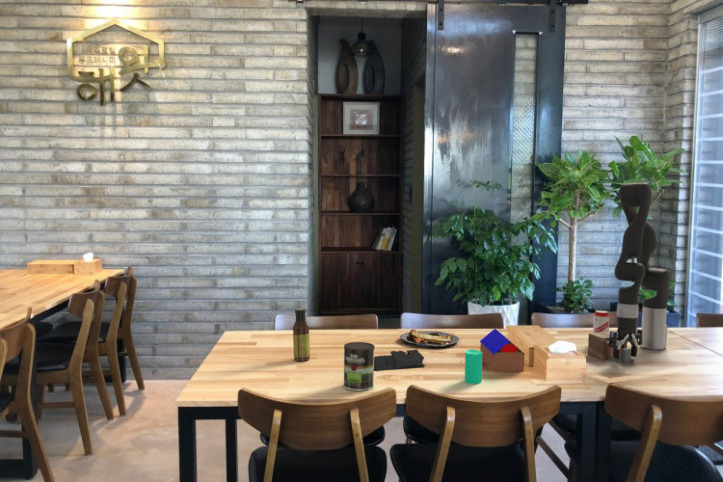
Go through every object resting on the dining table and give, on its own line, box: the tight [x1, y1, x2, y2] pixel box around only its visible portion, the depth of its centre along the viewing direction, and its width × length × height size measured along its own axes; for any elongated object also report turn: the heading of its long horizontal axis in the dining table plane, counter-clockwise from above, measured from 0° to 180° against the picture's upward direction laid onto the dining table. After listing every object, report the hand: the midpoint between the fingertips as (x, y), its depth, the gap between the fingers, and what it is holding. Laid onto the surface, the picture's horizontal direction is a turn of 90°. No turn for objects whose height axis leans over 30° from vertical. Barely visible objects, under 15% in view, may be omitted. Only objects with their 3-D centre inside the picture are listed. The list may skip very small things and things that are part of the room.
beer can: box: [592, 309, 611, 343], centre depth 279 cm, size 6×6×16 cm
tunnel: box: [587, 330, 628, 361], centre depth 264 cm, size 12×8×10 cm, turn 114°
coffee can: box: [343, 341, 376, 392], centre depth 228 cm, size 10×10×14 cm
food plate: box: [399, 329, 461, 348], centre depth 290 cm, size 25×23×4 cm
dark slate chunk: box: [374, 349, 426, 372], centre depth 256 cm, size 15×22×5 cm
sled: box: [606, 347, 635, 365], centre depth 261 cm, size 7×14×6 cm, turn 25°
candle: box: [464, 348, 483, 385], centre depth 235 cm, size 6×6×12 cm
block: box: [606, 342, 621, 359], centre depth 263 cm, size 5×5×5 cm
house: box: [479, 328, 526, 373], centre depth 257 cm, size 12×20×12 cm, turn 4°
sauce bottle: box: [292, 307, 311, 363], centre depth 259 cm, size 7×6×20 cm
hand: (624, 357), depth 256 cm, fingers open, 8 cm apart
